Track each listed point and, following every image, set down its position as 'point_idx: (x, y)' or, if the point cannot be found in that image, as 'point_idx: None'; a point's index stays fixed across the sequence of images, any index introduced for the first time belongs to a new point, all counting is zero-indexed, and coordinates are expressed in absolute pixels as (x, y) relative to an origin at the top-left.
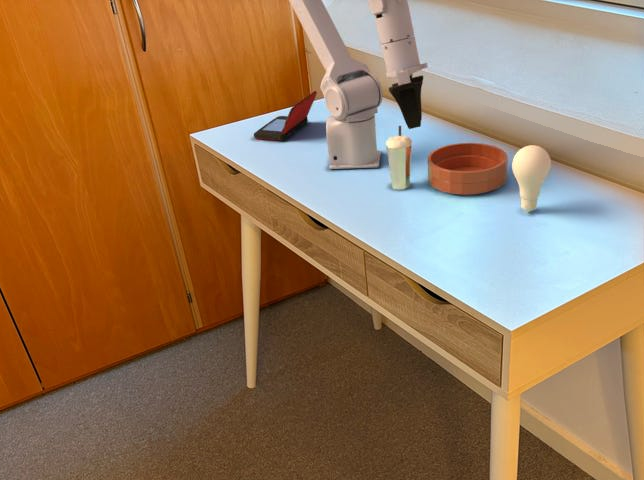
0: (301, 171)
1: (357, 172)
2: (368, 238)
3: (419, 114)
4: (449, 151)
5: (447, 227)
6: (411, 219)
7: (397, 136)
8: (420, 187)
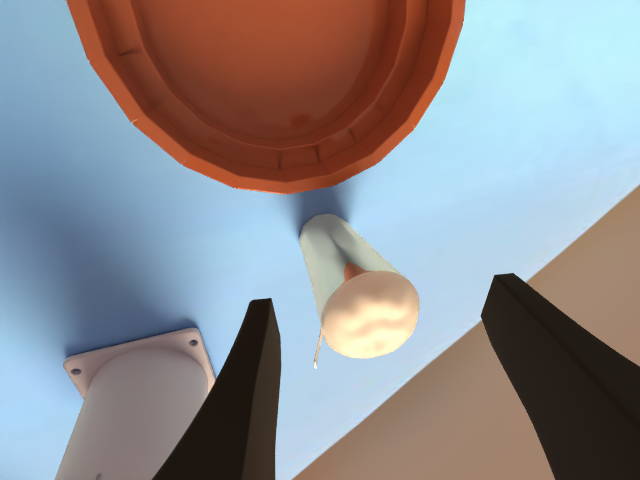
0: None
1: None
2: (569, 238)
3: (563, 316)
4: (148, 110)
5: (580, 67)
6: (515, 169)
7: (370, 337)
8: None
